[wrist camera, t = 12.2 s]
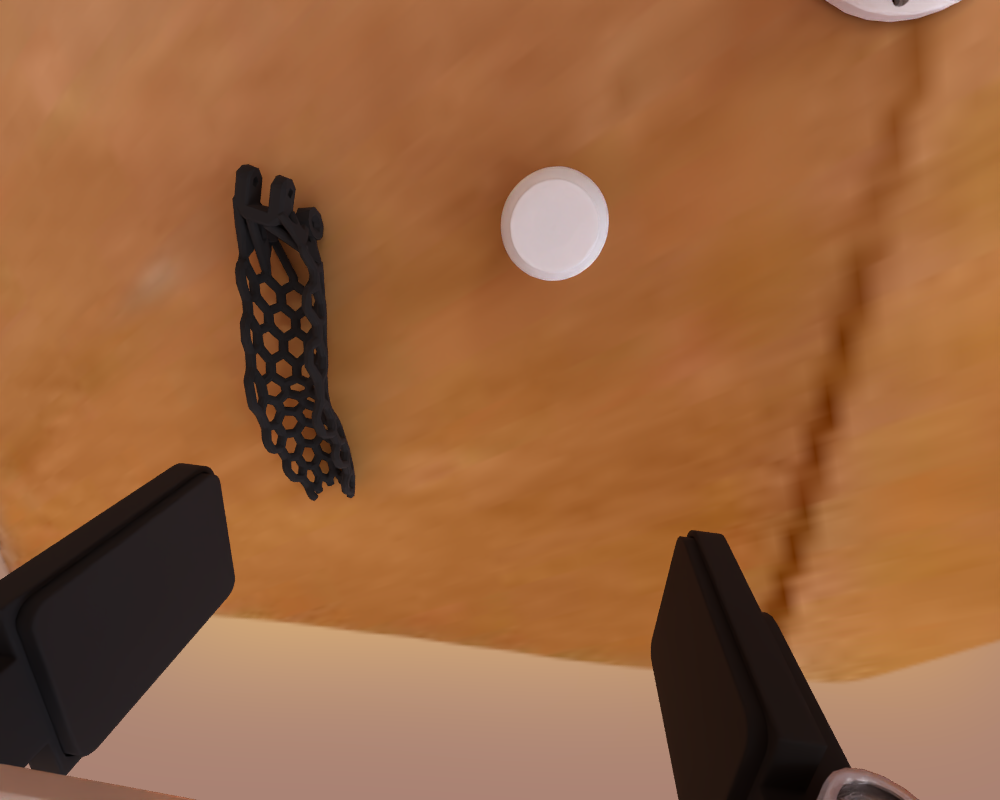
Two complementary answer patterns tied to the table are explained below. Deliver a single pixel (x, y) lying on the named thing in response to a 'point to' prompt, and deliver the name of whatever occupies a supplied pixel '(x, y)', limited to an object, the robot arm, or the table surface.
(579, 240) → the pill bottle
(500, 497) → the table surface
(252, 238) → the decorative element
